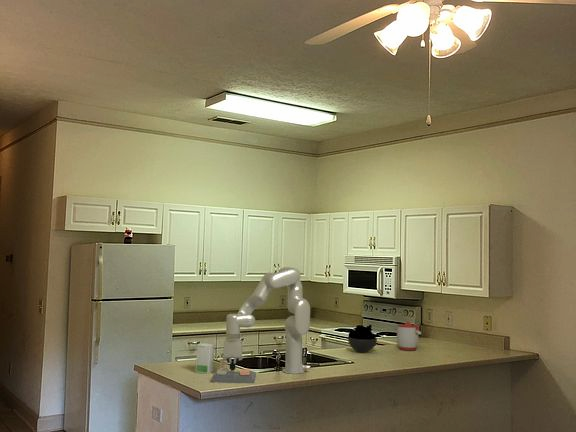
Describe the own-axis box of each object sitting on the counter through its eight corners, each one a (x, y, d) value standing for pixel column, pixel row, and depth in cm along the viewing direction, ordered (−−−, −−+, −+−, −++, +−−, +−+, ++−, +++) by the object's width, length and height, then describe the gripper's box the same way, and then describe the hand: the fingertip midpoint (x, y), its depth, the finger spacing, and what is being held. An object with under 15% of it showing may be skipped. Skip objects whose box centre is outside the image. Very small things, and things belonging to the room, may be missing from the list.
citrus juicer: (416, 352, 424) (416, 323, 425) (392, 349, 433) (393, 321, 434) (424, 349, 437) (424, 321, 438) (401, 347, 446) (401, 319, 447)
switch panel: (255, 375, 337) (255, 369, 337) (253, 383, 318) (254, 376, 318) (215, 374, 337) (216, 368, 337) (211, 382, 318) (211, 375, 318)
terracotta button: (250, 373, 325) (250, 369, 325) (249, 375, 320) (249, 371, 320) (240, 373, 325) (240, 369, 325) (239, 375, 320) (240, 371, 320)
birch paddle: (227, 371, 335) (227, 359, 336) (226, 372, 332) (227, 360, 333) (220, 371, 335) (221, 359, 336) (220, 372, 332) (220, 360, 333)
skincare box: (195, 372, 342) (196, 344, 343) (201, 370, 348) (201, 342, 349) (208, 373, 339) (209, 345, 340) (214, 371, 345) (214, 343, 346)
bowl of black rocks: (349, 354, 410) (349, 326, 411) (346, 349, 430) (346, 322, 431) (378, 355, 410) (379, 326, 411) (374, 350, 430) (374, 323, 431)
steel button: (227, 372, 325) (227, 368, 325) (226, 374, 320) (226, 370, 320) (218, 372, 325) (218, 368, 325) (217, 374, 320) (217, 370, 320)
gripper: (247, 335, 339) (246, 369, 338) (220, 335, 338) (219, 369, 338) (246, 337, 331) (245, 372, 330) (218, 337, 331) (218, 371, 330)
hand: (232, 370), depth 334 cm, fingers closed
